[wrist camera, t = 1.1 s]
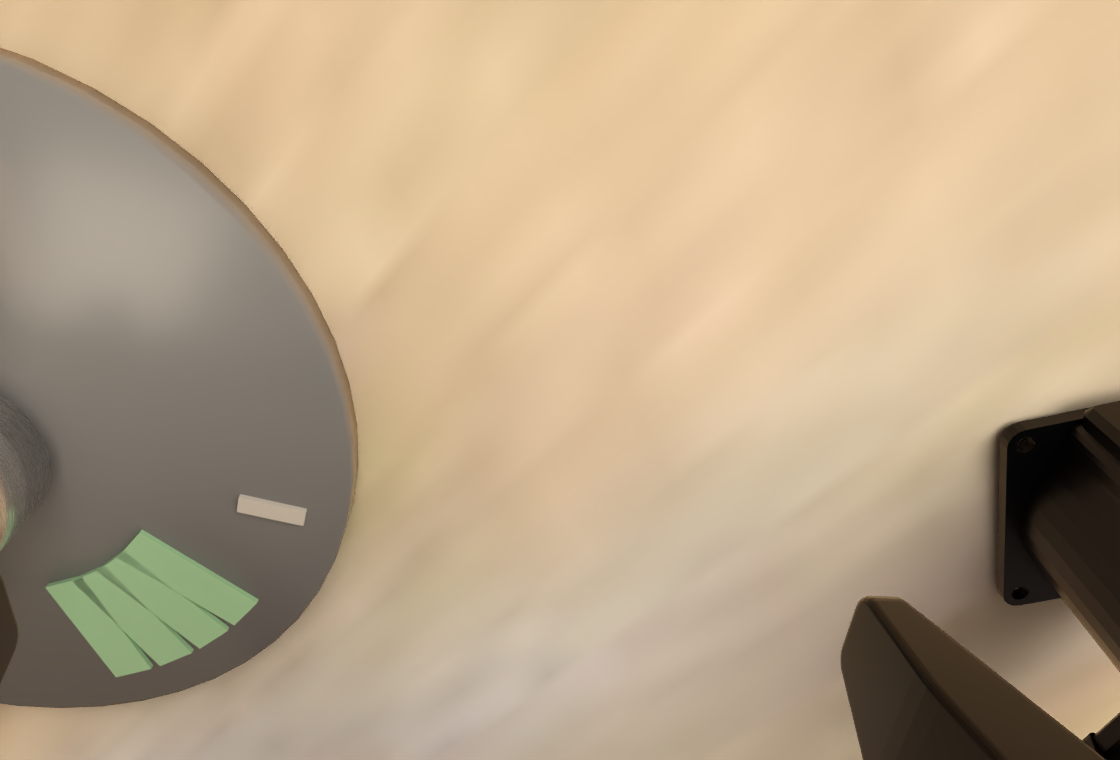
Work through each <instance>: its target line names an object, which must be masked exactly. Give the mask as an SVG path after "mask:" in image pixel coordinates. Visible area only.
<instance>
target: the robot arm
mask: <svg viewBox="0 0 1120 760" xmlns="http://www.w3.org/2000/svg"><path fill="white" fill-rule="evenodd" d="M1025 437H1027V439H1026V440H1025V441H1024V442H1023V443H1021V444H1019V445H1017V443H1018V442H1019V441H1020V440H1021V439H1023V438H1025ZM1016 588H1018V589H1016ZM997 589H998V592H999V593H1000V595H1001V596H1002V598H1003V599H1004V601H1005V602H1007V603H1008V604H1010V605H1024V604H1029V603H1035V602H1040V601H1046V600H1051V599H1057V598H1062V599H1063V600H1064V601H1065V603H1066V604H1067V605H1068V607H1069V608H1070V609H1071V610H1072V612H1073V613H1074V614H1075V616H1076V617H1077V618H1078V619H1079V621H1080V622H1081V623H1082V625H1083V626H1084V627H1085V628H1086V630H1087V631H1088V632H1089V633H1090V635H1091V636H1092V637H1093V639H1094V640H1095V641H1096V642H1097V644H1098V645H1099V646H1100V648H1101V649H1102V650H1103V651H1104V653H1105V654H1106V655H1107V656H1108V658H1109V659H1110V660H1111V662H1112V663H1113V664H1114V665H1115V667H1116V668H1117V669H1118V671H1119V672H1120V401H1118V402H1113V403H1108V404H1103V405H1098V406H1094V407H1091V408H1086V409H1081V410H1076V411H1071V412H1066V413H1061V414H1057V415H1052V416H1047V417H1042V418H1037V419H1032V420H1027V421H1022V422H1018V423H1015V424H1012V425H1011V426H1009V427H1008V428H1007V429H1005V431H1004V432H1003V433H1002V435H1001V438H1000V459H999V510H998V561H997ZM1015 589H1016V590H1015ZM18 635H19V634H18V624H17V621H16V618H15V615H14V612H13V609H12V605H11V602H10V599H9V596H8V593H7V590H6V587H5V584H4V581H3V578H2V576H1V575H0V685H1V683H2V681H3V678H4V676H5V674H6V671H7V669H8V667H9V664H10V662H11V660H12V658H13V655H14V653H15V650H16V647H17V643H18ZM841 669H842V674H843V678H844V682H845V687H846V691H847V695H848V699H849V703H850V707H851V711H852V716H853V720H854V724H855V728H856V732H857V736H858V740H859V745H860V749H861V753H862V757H863V760H1120V713H1119V714H1118V715H1117V716H1115V717H1114V718H1113V719H1112V720H1111V721H1110V722H1109V723H1108V724H1106V725H1105V726H1104V727H1103V728H1102V729H1101V730H1100V731H1099V732H1098V733H1096V734H1095V733H1090V734H1089V735H1088V736H1087V737H1085V738H1084V739H1083V740H1080V739H1079V738H1078V737H1077V736H1075V735H1074V734H1073V733H1071V732H1070V731H1069V730H1068V729H1066V728H1065V727H1064V726H1063V725H1061V724H1060V723H1059V722H1058V721H1056V720H1055V719H1054V718H1053V717H1051V716H1050V715H1049V714H1047V713H1046V712H1045V711H1044V710H1042V709H1041V708H1040V707H1039V706H1037V705H1036V704H1035V703H1034V702H1032V701H1031V700H1030V699H1028V698H1027V697H1026V696H1025V695H1023V694H1022V693H1021V692H1020V691H1018V690H1017V689H1016V688H1015V687H1013V686H1012V685H1011V684H1009V683H1008V682H1007V681H1006V680H1004V679H1003V678H1002V677H1001V676H999V675H998V674H997V673H996V672H994V671H993V670H992V669H991V668H989V667H988V666H987V665H985V664H984V663H983V662H982V661H980V660H979V659H978V658H977V657H975V656H974V655H973V654H972V653H970V652H969V651H968V650H966V649H965V648H964V647H963V646H961V645H960V644H959V643H958V642H956V641H955V640H954V639H953V638H951V637H950V636H949V635H947V634H946V633H945V632H944V631H942V630H941V629H940V628H939V627H937V626H936V625H935V624H934V623H932V622H931V621H930V620H929V619H927V618H926V617H925V616H923V615H922V614H921V613H920V612H918V611H917V610H916V609H915V608H913V607H912V606H911V605H910V604H908V603H907V602H905V601H904V600H902V599H900V598H897V597H881V596H867V597H864V598H862V599H861V600H860V601H859V602H858V604H857V606H856V609H855V612H854V615H853V618H852V621H851V623H850V626H849V629H848V632H847V635H846V638H845V641H844V643H843V646H842V651H841Z"/></svg>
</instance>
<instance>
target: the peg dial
mask: <svg viewBox="0 0 1120 760" xmlns="http://www.w3.org/2000/svg"><path fill="white" fill-rule="evenodd" d="M51 474H52V473H51V463H50V458H49V454H48V451H47V449H46V446H45V444H44V441H43V440H42V438H41V436H40V434H39V433H38V431H37V429H36V428H35V427H34V425H33V424H32V423H31V421H30V420H29V419H28V418H27V417H26V416H25V414H24V413H23V412H22V411H21V410H20V409H19V408H18V407H17V406H16V405H14V404H13V403H12V402H11V401H10V400H9V399H7V398H6V397H5V396H3V395H2V394H1V393H0V551H1V550H2V549H3V547H4V546H5V545H6V544H7V543H8V542H9V541H10V540H11V538H12V537H13V536H14V535H15V534H16V533H17V532H18V531H19V529H20V528H21V527H22V526H23V525H24V524H25V523H26V521H27V520H28V519H29V518H30V517H31V516H32V515H33V514H34V512H35V511H36V510H37V509H38V508H39V507H40V505H41V504H42V503H43V501H44V500H45V498H46V496H47V494H48V491H49V487H50V484H51Z"/></svg>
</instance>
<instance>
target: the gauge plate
mask: <svg viewBox="0 0 1120 760" xmlns="http://www.w3.org/2000/svg"><path fill="white" fill-rule="evenodd" d="M0 393H1V394H2V395H3V396H5V397H6V398H7V399H9V400H10V401H11V402H12V403H13V404H14V405H16V406H17V407H18V408H19V409H20V410H21V411H22V412H23V413H24V414H25V416H26V417H27V418H28V419H29V420H30V421H31V423H32V424H33V425H34V427H35V428H36V429H37V431H38V433H39V434H40V436H41V438H42V440H43V441H44V444H45V446H46V449H47V451H48V454H49V458H50V463H51V473H52V474H51V484H50V487H49V491H48V494H47V496H46V498H45V500H44V501H43V503H42V504H41V505H40V507H39V508H38V509H37V510H36V511H35V512H34V514H33V515H32V516H31V517H30V518H29V519H28V520H27V521H26V523H25V524H24V525H23V526H22V527H21V528H20V529H19V531H18V532H17V533H16V534H15V535H14V536H13V537H12V538H11V540H10V541H9V542H8V543H7V544H6V545H5V546H4V547H3V549H2V550H1V551H0V575H1V576H2V578H3V581H4V584H5V587H6V590H7V593H8V596H9V599H10V602H11V605H12V609H13V612H14V615H15V618H16V621H17V624H18V634H19V635H18V643H17V647H16V650H15V653H14V655H13V658H12V660H11V662H10V664H9V667H8V669H7V671H6V674H5V676H4V678H3V681H2V683H1V685H0V703H1V704H9V705H16V706H34V707H54V708H69V707H94V706H107V705H114V704H122V703H129V702H136V701H143V700H147V699H151V698H155V697H159V696H163V695H167V694H171V693H175V692H179V691H182V690H185V689H187V688H190V687H193V686H196V685H198V684H201V683H204V682H206V681H209V680H212V679H214V678H216V677H218V676H220V675H222V674H224V673H226V672H228V671H230V670H231V669H233V668H235V667H237V666H239V665H241V664H243V663H245V662H246V661H248V660H249V659H251V658H252V657H253V656H255V655H256V654H258V653H259V652H260V651H262V650H263V649H265V648H266V647H267V646H269V645H270V644H272V643H273V642H274V641H275V640H276V639H277V638H279V637H280V636H281V635H282V634H283V633H284V632H285V631H286V630H287V629H288V628H289V627H290V626H291V625H292V624H293V623H294V622H295V621H296V620H297V619H298V618H299V617H300V616H301V614H302V613H303V612H304V610H305V609H306V608H307V606H308V605H309V603H310V602H311V601H312V599H313V598H314V597H315V595H316V594H317V593H318V591H319V590H320V588H321V586H322V584H323V582H324V580H325V578H326V576H327V574H328V572H329V570H330V568H331V566H332V564H333V562H334V561H335V558H336V555H337V552H338V549H339V546H340V543H341V540H342V537H343V534H344V531H345V528H346V525H347V521H348V518H349V515H350V512H351V508H352V505H353V501H354V494H355V486H356V478H357V471H358V441H357V423H356V417H355V412H354V407H353V401H352V396H351V390H350V385H349V381H348V378H347V375H346V372H345V369H344V366H343V363H342V360H341V358H340V355H339V352H338V349H337V346H336V343H335V340H334V338H333V336H332V334H331V332H330V330H329V327H328V325H327V323H326V321H325V319H324V317H323V315H322V313H321V311H320V309H319V307H318V305H317V303H316V301H315V299H314V297H313V295H312V293H311V292H310V290H309V289H308V287H307V286H306V284H305V283H304V281H303V280H302V278H301V277H300V275H299V274H298V272H297V270H296V269H295V267H294V266H293V264H292V263H291V261H290V260H289V258H288V257H287V255H286V254H285V252H284V251H283V249H282V248H281V247H280V246H279V244H278V243H277V242H276V241H275V240H274V238H273V237H272V236H271V235H270V234H269V232H268V231H267V230H266V229H265V228H264V226H263V225H262V224H261V223H260V222H259V220H258V219H257V218H256V217H255V216H254V214H253V213H252V212H251V211H250V210H249V208H248V207H247V206H246V205H245V204H244V203H243V202H242V201H241V200H240V199H239V198H238V197H237V196H236V195H235V194H234V193H233V192H232V191H230V190H229V189H228V188H227V187H226V186H225V185H224V184H223V183H222V182H221V181H220V180H219V179H218V178H217V177H216V176H215V175H214V174H213V173H212V172H211V171H210V170H209V169H208V168H207V167H205V166H204V165H203V164H202V163H201V162H200V161H199V160H197V159H196V158H195V157H193V156H192V155H191V154H190V153H188V152H187V151H186V150H184V149H183V148H182V147H181V146H179V145H178V144H177V143H175V142H174V141H173V140H171V139H170V138H169V137H168V136H166V135H165V134H164V133H162V132H161V131H160V130H159V129H157V128H156V127H155V126H153V125H152V124H151V123H149V122H148V121H146V120H144V119H143V118H141V117H140V116H138V115H136V114H135V113H133V112H131V111H130V110H128V109H127V108H125V107H123V106H122V105H120V104H118V103H117V102H115V101H114V100H112V99H110V98H109V97H107V96H105V95H104V94H102V93H101V92H99V91H97V90H96V89H94V88H92V87H90V86H88V85H86V84H84V83H82V82H80V81H77V80H75V79H73V78H71V77H69V76H67V75H65V74H63V73H61V72H59V71H56V70H54V69H52V68H50V67H48V66H46V65H44V64H42V63H40V62H38V61H36V60H33V59H31V58H28V57H25V56H22V55H20V54H17V53H14V52H11V51H8V50H5V49H2V48H0Z"/></svg>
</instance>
